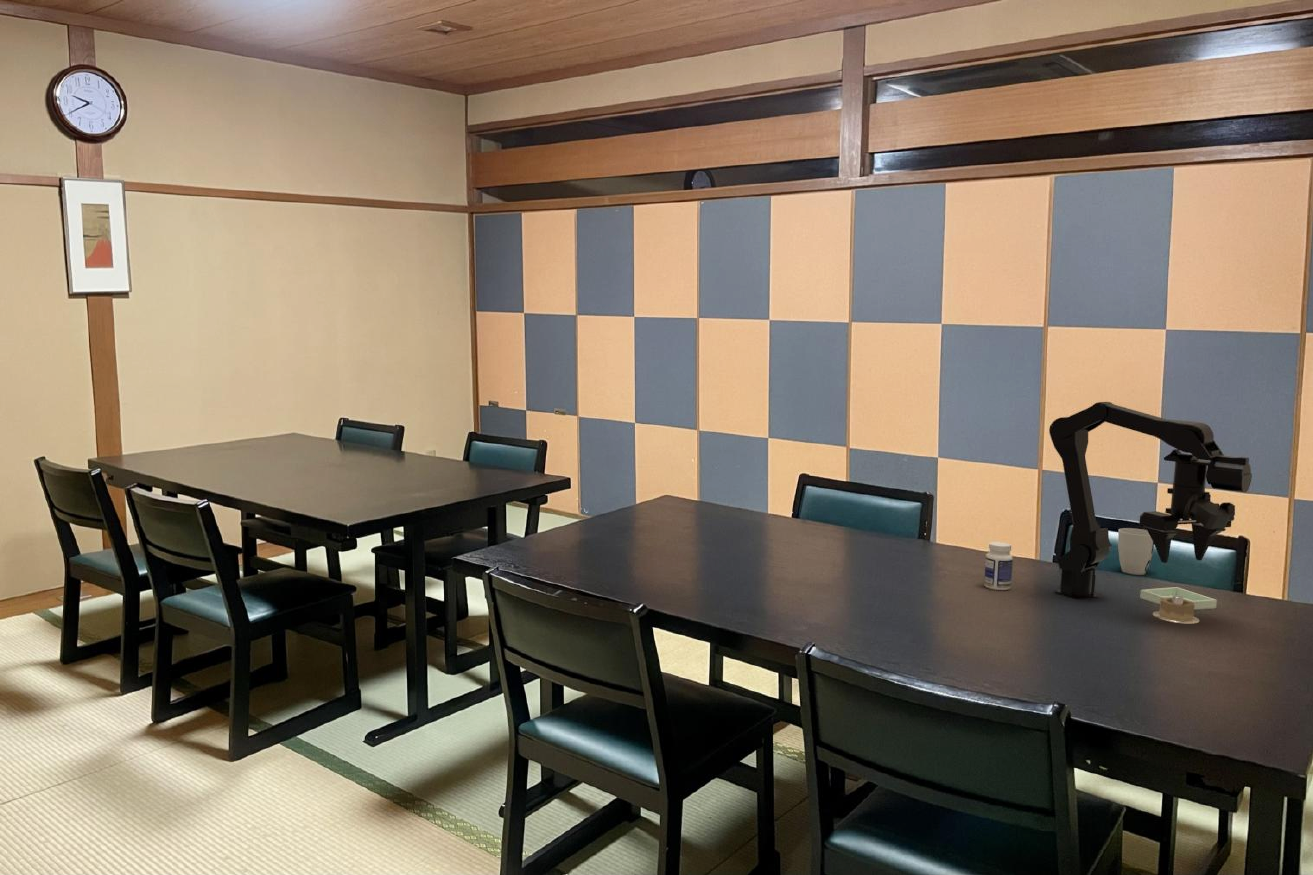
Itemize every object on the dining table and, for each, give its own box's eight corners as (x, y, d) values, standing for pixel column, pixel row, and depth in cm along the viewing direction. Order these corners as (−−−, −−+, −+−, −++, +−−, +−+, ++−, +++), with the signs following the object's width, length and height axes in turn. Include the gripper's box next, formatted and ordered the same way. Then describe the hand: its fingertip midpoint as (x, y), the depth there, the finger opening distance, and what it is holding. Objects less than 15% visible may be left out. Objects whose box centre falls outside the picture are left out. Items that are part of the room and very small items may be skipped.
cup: (1156, 577, 233) (1160, 536, 232) (1119, 574, 235) (1123, 533, 234) (1146, 569, 241) (1150, 529, 240) (1111, 566, 243) (1114, 527, 242)
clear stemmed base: (1177, 626, 195) (1179, 604, 194) (1143, 614, 202) (1145, 592, 202) (1209, 623, 197) (1211, 601, 197) (1174, 611, 205) (1176, 590, 205)
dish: (1178, 613, 204) (1179, 603, 204) (1139, 599, 213) (1140, 589, 213) (1215, 610, 207) (1216, 599, 207) (1175, 596, 217) (1176, 587, 217)
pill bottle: (1011, 586, 222) (1015, 543, 220) (1009, 592, 216) (1012, 548, 215) (985, 582, 224) (988, 539, 223) (982, 588, 219) (985, 544, 218)
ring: (1176, 622, 196) (1178, 606, 196) (1152, 613, 202) (1154, 598, 201) (1199, 620, 198) (1201, 604, 198) (1175, 611, 204) (1176, 596, 203)
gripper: (1187, 493, 186) (1179, 574, 188) (1259, 490, 192) (1251, 568, 194) (1140, 484, 197) (1133, 560, 198) (1210, 481, 203) (1203, 555, 205)
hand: (1181, 561), depth 199 cm, fingers open, 9 cm apart
